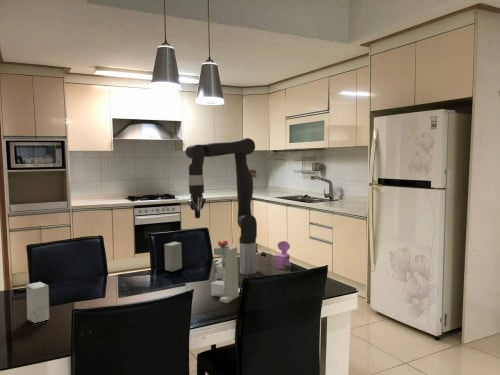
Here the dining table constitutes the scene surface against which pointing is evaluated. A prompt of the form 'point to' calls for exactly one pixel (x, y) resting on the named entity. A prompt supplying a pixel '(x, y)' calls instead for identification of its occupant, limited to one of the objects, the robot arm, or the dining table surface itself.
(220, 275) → the light bulb box
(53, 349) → the dining table surface
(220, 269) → the ram
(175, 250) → the skincare box
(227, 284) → the press frame
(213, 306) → the dining table surface
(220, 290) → the housing
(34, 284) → the skincare box
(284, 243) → the purple upright piece
